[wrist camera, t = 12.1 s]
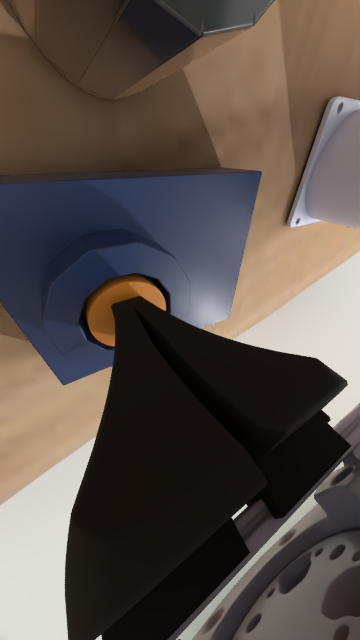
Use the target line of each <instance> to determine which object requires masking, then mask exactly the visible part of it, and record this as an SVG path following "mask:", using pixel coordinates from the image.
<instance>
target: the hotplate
mask: <svg viewBox="0 0 360 640" xmlns="http://www.w3.org/2000/svg"><path fill="white" fill-rule="evenodd" d="M261 173H262V172H261V171H254V170H242V169H231V168H203V169H173V170H144V171H114V172H85V173H55V174H25V175H0V302H1V304H2V305H3V306H4V308H5V309H6V310H7V312H8V313H9V314H10V316H11V317H12V318H13V319H14V321H15V322H16V323H17V325H18V326H19V327H20V329H21V330H22V331H23V333H24V334H25V335H26V337H27V338H28V339H29V341H30V342H31V343H32V345H33V346H34V347H35V349H36V350H37V351H38V353H39V354H40V355H41V357H42V358H43V359H44V361H45V362H46V363H47V365H48V366H49V367H50V369H51V370H52V371H53V373H54V374H55V375H56V376H57V378H58V379H59V380H60V382H61V383H62V384H63V385H66V384H68V383H71V382H73V381H76V380H78V379H81V378H83V377H86V376H88V375H90V374H93V373H95V372H98V371H100V370H103V369H105V368H108V367H111V366H113V360H114V349H115V346H109V345H106V344H104V343H102V342H100V341H99V340H97V339H96V338H95V337H94V336H93V335H92V333H91V331H90V329H89V326H88V322H87V319H86V316H85V312H84V309H83V305H84V302H85V299H86V298H87V297H88V296H89V295H90V294H91V293H92V292H94V291H95V290H96V289H97V288H98V287H99V286H100V285H102V284H103V283H104V282H105V281H106V280H107V279H110V278H114V277H119V276H123V275H127V274H131V273H138V274H142V275H145V276H147V277H148V278H149V279H150V280H151V281H152V283H153V284H154V285H155V286H156V287H157V288H158V289H159V290H160V292H161V293H162V295H163V297H164V299H165V303H166V312H168V313H170V314H171V315H173V316H175V317H177V318H179V319H181V320H183V321H185V322H187V323H189V324H191V325H193V326H195V327H198V328H200V329H203V328H206V327H208V326H210V325H213V324H215V323H218V322H220V321H223V320H225V319H228V318H229V315H230V311H231V307H232V302H233V298H234V293H235V289H236V284H237V280H238V275H239V271H240V266H241V262H242V258H243V253H244V249H245V244H246V240H247V235H248V231H249V226H250V222H251V218H252V213H253V209H254V204H255V200H256V195H257V191H258V186H259V182H260V178H261Z"/></svg>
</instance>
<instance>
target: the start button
mask: <svg viewBox="0 0 360 640" xmlns="http://www.w3.org/2000/svg"><path fill="white" fill-rule="evenodd" d="M138 296H141V297H143V298H145V299H146V300H148V301H149V302H151V303H153V304H154V305H156V306H158V307H159V308H161V309H163V310H164V311H166V303H165V299H164V297H163V295H162V293H161V292H160V290H159V289H158V288H157V287H156V286H155V285H154V284H153V283H152V281H151V280H150V279H149V278H148V277H147V276H145V275H142V274H138V273H131V274H127V275H123V276H119V277H114V278H110V279H107V280H106V281H105V282H104V283H103V284H102V285H100V286H99V287H98V288H97V289H96V290H95V291H94V292H92V293H91V294H90V295H89V296H88V297H87V298H86V299H85V302H84V305H83V309H84V312H85V316H86V319H87V322H88V326H89V329H90V331H91V333H92V335H93V336H94V337H95V338H96V339H97V340H99V341H100V342H102V343H104V344H106V345H109V346H115V321H114V316H113V313H112V309H111V306H112V304H113V303H117V302H120V301H124V300H127V299H131V298H134V297H138Z"/></svg>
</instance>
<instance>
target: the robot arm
mask: <svg viewBox="0 0 360 640" xmlns="http://www.w3.org/2000/svg"><path fill="white" fill-rule="evenodd" d="M320 221H326V222H330V223H334V224H338V225H343V226H347V227H351V228H355V229H359V230H360V100H356V99H351V98H346V97H341V96H337V97H333V98H332V99H331V100H330V101H329V103H328V104H327V107H326V109H325V112H324V115H323V118H322V121H321V124H320V127H319V130H318V133H317V136H316V139H315V142H314V145H313V147H312V150H311V153H310V156H309V159H308V162H307V165H306V168H305V171H304V174H303V177H302V180H301V183H300V186H299V189H298V192H297V194H296V197H295V200H294V203H293V206H292V209H291V212H290V215H289V218H288V221H287V226H288V227H291V228H292V227H297V226H302V225H306V224H311V223H315V222H320ZM111 309H112V313H113V316H114V321H115V349H114V360H113V368H112V374H111V380H110V385H109V390H108V395H107V399H106V403H105V408H104V412H103V415H102V419H101V422H100V426H99V429H98V433H97V436H96V440H95V443H94V447H93V450H92V453H91V456H90V459H89V462H88V465H87V468H86V471H85V474H84V477H83V480H82V483H81V485H80V488H79V491H78V494H77V497H76V500H75V504H74V506H73V509H72V512H71V519H70V525H69V533H68V541H67V552H66V566H65V601H66V614H67V628H68V640H95V639H96V638H97V637H98V636H100V635H102V640H176V638H177V637H178V636H179V635H180V634H181V633H182V632H183V631H184V630H185V629H186V628H187V627H188V626H189V625H190V624H191V623H192V621H193V620H194V619H195V618H196V617H197V616H198V615H199V614H200V613H201V612H202V610H204V609H205V607H206V606H207V605H208V604H209V603H210V602H211V601H212V600H213V599H214V598H215V597H216V595H218V593H219V592H220V591H221V590H222V589H223V588H224V587H225V586H226V585H227V584H228V583H229V582H230V581H231V580H232V579H233V577H234V576H235V575H236V574H237V573H238V572H239V571H240V570H241V569H242V568H243V567H244V566H245V565H246V564H247V563H248V561H249V560H250V559H251V558H252V557H253V556H254V555H255V554H256V553H257V552H258V551H259V549H260V548H261V547H263V545H264V544H265V543H266V542H267V541H268V540H269V539H270V538H271V537H272V536H273V535H274V534H275V533H276V532H277V530H278V529H279V528H280V527H281V526H282V525H283V524H284V523H285V522H286V521H287V520H288V518H289V517H291V515H292V514H293V513H294V512H295V511H296V510H297V509H298V508H299V507H300V506H301V505H302V504H303V503H304V502H305V500H306V499H307V498H308V497H309V496H310V495H311V494H312V493H313V492H314V491H315V490H316V489H317V490H316V492H315V494H314V499H315V500H316V501H317V503H318V504H317V505H316V506H315V507H314V508H313V509H312V510H311V511H310V512H309V513H307V514H306V515H305V516H304V517H303V518H302V519H301V520H300V521H299V522H298V523H297V524H295V525H294V526H293V527H292V528H291V529H290V530H289V531H288V532H287V533H286V534H285V535H284V536H283V537H282V538H280V539H279V540H278V541H277V542H276V543H275V544H274V545H273V546H272V547H271V548H270V549H269V550H268V551H267V552H266V553H265V554H264V555H263V556H262V557H261V558H260V559H259V560H258V561H257V562H256V563H255V564H254V565H253V566H252V567H251V568H250V569H249V570H248V571H247V572H246V573H245V575H244V576H243V577H242V578H241V579H240V580H239V581H238V583H237V584H236V585H235V586H234V587H233V588H232V590H231V591H230V592H229V593H228V595H227V596H226V597H225V598H224V599H223V601H222V602H221V603H220V604H219V606H218V607H217V608H216V610H215V611H214V612H213V613H212V615H211V616H210V617H209V619H208V620H207V621H206V622H205V624H204V625H203V626H202V627H201V629H200V630H199V631H198V633H197V634H196V635H195V637H194V638H193V639H192V640H360V403H359V404H358V405H357V406H356V407H355V408H354V409H353V410H352V411H351V412H350V413H348V414H347V415H346V416H345V417H344V418H343V419H342V420H341V421H340V422H339V423H338V424H337V425H336V426H334V427H333V428H332V427H331V426H330V425H329V424H328V422H329V421H330V417H329V416H328V415H327V414H326V413H324V412H323V411H322V410H321V409H322V408H323V407H325V406H326V405H327V404H328V403H329V402H330V401H331V400H332V399H333V398H334V397H336V395H338V394H339V393H340V392H341V391H342V390H343V389H344V388H345V387H346V386H347V385H348V384H347V380H345V379H343V377H341V376H340V375H338V374H337V373H336V372H334V371H333V370H332V369H330V368H329V367H328V366H326V365H325V364H324V363H322V362H321V361H320V360H318V359H316V358H312V357H306V356H300V355H294V354H288V353H282V352H277V351H273V350H268V349H264V348H260V347H255V346H251V345H248V344H244V343H240V342H237V341H234V340H231V339H227V338H224V337H221V336H218V335H215V334H213V333H210V332H208V331H205V330H203V329H200V328H198V327H195V326H193V325H191V324H189V323H187V322H185V321H183V320H181V319H179V318H177V317H175V316H173V315H171V314H170V313H168V312H166V311H164V310H163V309H161V308H159V307H158V306H156V305H154V304H153V303H151V302H149V301H148V300H146V299H145V298H143V297H141V296H138V297H134V298H131V299H127V300H124V301H120V302H117V303H113V304H112V306H111ZM342 461H343V463H344V467H342V468H340V469H338V470H336V471H335V472H333V470H334V469H335V468H336V467H337V466H338V465H339V464H340V463H341V462H342ZM331 472H333V473H331ZM245 504H247V506H248V507H247V508H246V509H245V510H244V511H243V512H241V513H240V514H239V515H238V516H237V517H236V518H235V519H234V520H233V519H232V518H231V517H232V516H233V515H234V514H235V513H236V512H237V511H239V510H240V509H241V508H242V507H243V506H244V505H245ZM178 640H180V639H178Z"/></svg>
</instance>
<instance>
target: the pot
mask: <svg viewBox="0 0 360 640" xmlns="http://www.w3.org/2000/svg"><path fill="white" fill-rule="evenodd" d="M8 1H9V2H10V4H11V6H12V8H13V10H14V12H15V14H16V15H17V17H18V19H19V20H20V22H21V24H22V25H23V27H24V29H25V30H26V32H27V33H28V35H29V36H30V38H31V39H32V40H33V42H34V43H35V45H36V46H37V47H38V49H39V50H40V51H41V52H42V54H43V55H44V56H45V57H46V59H47V60H48V61H49V62H50V63H51V64H52V65H53V66H54V67H55V68H56V70H57V71H58V72H59V73H61V74H62V75H63V76H64V77H65V78H66V79H67V80H68V81H70V82H71V83H72V84H74V85H75V86H77V87H78V88H79V89H81V90H83V91H85V92H87V93H88V94H90V95H93V96H96V97H98V98H103V99H110V100H116V99H121V98H125V97H127V96H129V95H133V94H137V93H139V92H141V91H142V90H144V89H146V88H148V87H149V86H151V85H153V84H154V83H156V82H158V81H160V80H161V79H163V78H165V77H167V76H168V75H170V74H172V73H173V72H175V71H177V70H179V69H180V68H182V67H184V66H186V65H187V64H189V63H191V62H192V61H194V60H196V59H198V58H199V57H201V56H203V55H205V54H206V53H208V52H210V51H211V50H213V49H215V48H217V47H218V46H220V45H222V44H224V43H225V42H227V41H229V40H230V39H232V38H234V37H236V36H237V35H239V34H241V33H243V32H244V31H246V30H248V29H249V28H251V27H252V26H254V25H255V24H256V23H257V22H258V20H259V19H260V18H261V17H262V15H263V14H264V13H265V12H266V10H267V9H268V8H269V7H270V5H271V4H272V3H273V2H274V0H8Z"/></svg>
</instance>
